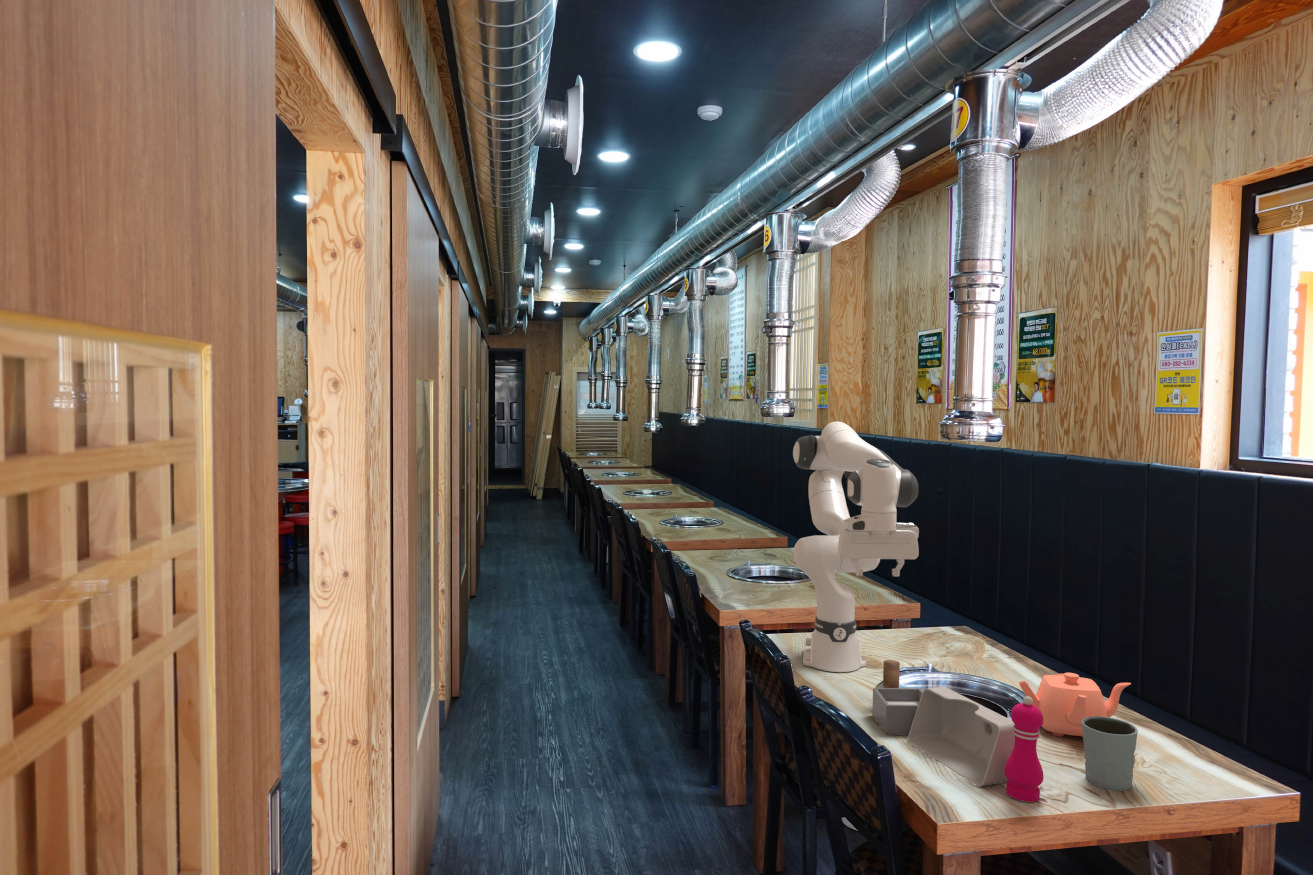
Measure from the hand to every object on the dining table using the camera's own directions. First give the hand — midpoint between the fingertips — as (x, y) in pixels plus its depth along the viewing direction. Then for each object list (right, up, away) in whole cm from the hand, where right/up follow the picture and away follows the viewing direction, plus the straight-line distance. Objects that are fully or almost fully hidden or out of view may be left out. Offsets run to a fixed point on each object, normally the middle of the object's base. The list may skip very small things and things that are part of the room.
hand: (877, 575), depth 212 cm
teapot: (+43, -35, -14) cm, 58 cm away
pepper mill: (+17, -36, -47) cm, 62 cm away
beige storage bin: (+13, -36, -29) cm, 48 cm away
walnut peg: (+3, -34, 0) cm, 34 cm away
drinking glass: (+37, -37, -40) cm, 66 cm away
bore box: (+3, -35, -11) cm, 36 cm away
